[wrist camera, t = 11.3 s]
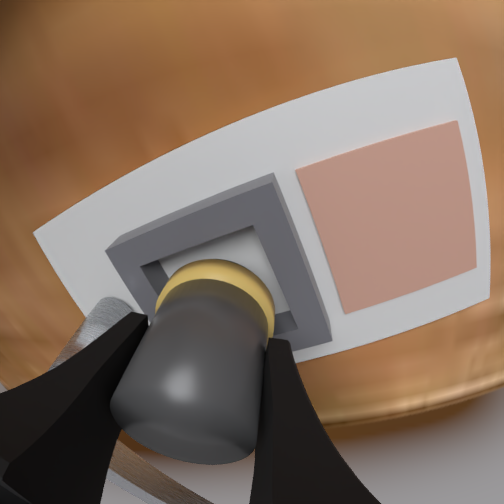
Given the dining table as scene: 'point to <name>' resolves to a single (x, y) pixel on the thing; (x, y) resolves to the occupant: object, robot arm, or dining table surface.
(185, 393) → the plug
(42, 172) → the dining table surface
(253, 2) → the dining table surface
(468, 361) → the dining table surface
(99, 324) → the retention clip
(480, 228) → the dock board
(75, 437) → the robot arm
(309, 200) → the pad
